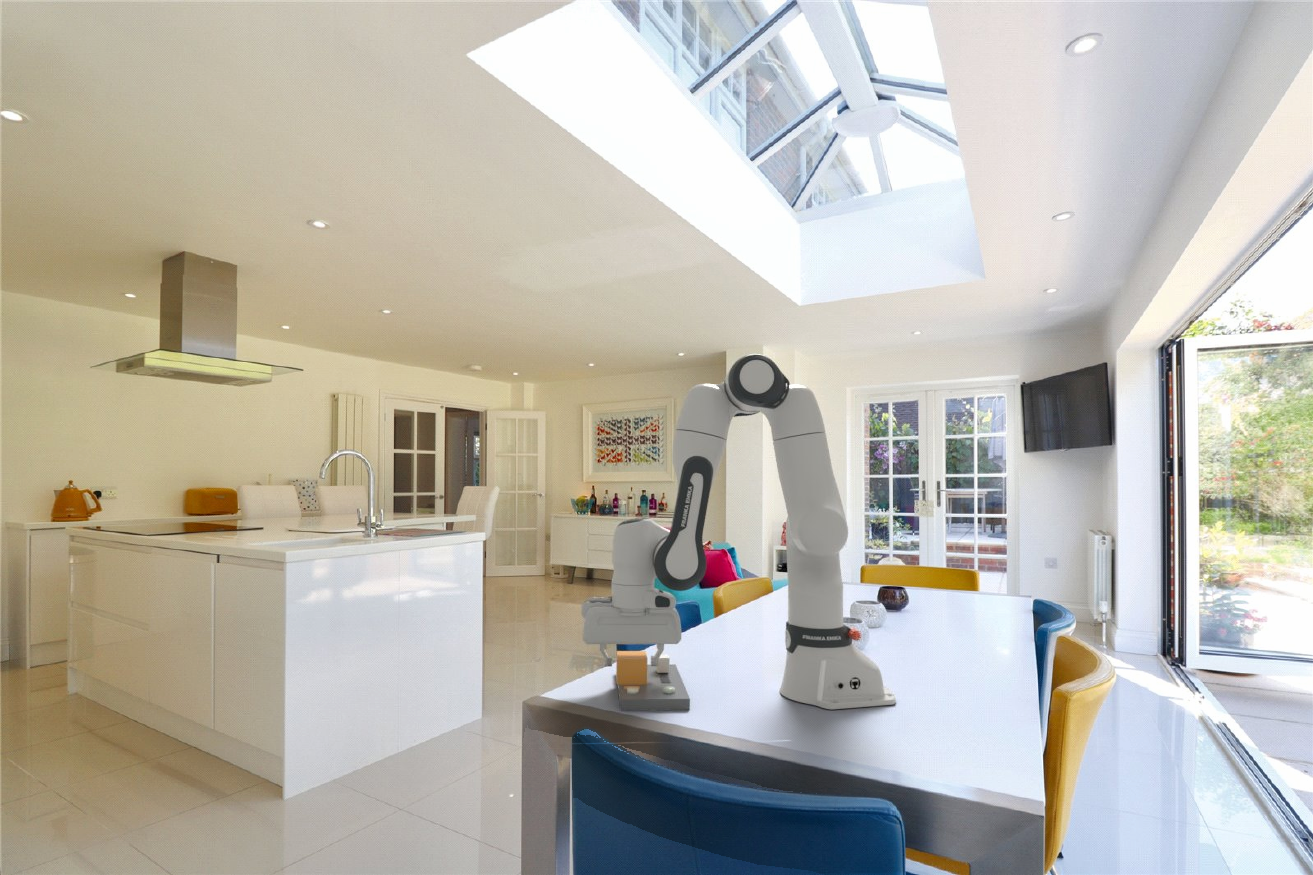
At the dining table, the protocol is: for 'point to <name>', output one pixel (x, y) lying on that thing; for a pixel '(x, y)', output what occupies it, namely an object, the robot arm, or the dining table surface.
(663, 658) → the block
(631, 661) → the cap
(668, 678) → the breaker panel
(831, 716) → the dining table surface
